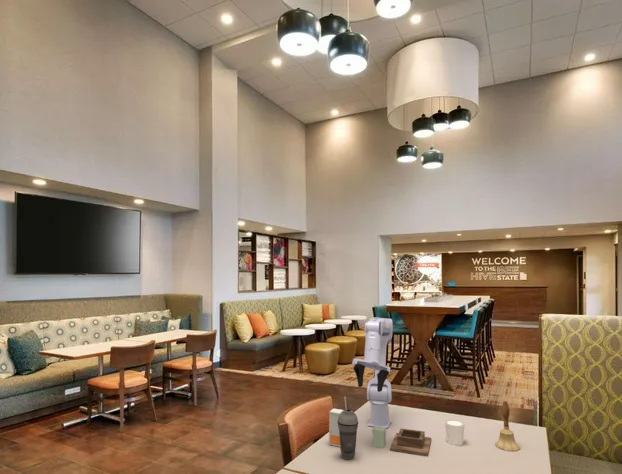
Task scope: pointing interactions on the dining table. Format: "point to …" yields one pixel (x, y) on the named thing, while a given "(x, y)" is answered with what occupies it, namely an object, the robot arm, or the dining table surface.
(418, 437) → the well stand
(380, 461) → the dining table surface
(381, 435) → the block
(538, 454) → the dining table surface
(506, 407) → the hand bell
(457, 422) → the white ribbed cylinder
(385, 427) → the robot arm
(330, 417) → the skincare box
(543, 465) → the dining table surface
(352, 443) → the beverage cup
